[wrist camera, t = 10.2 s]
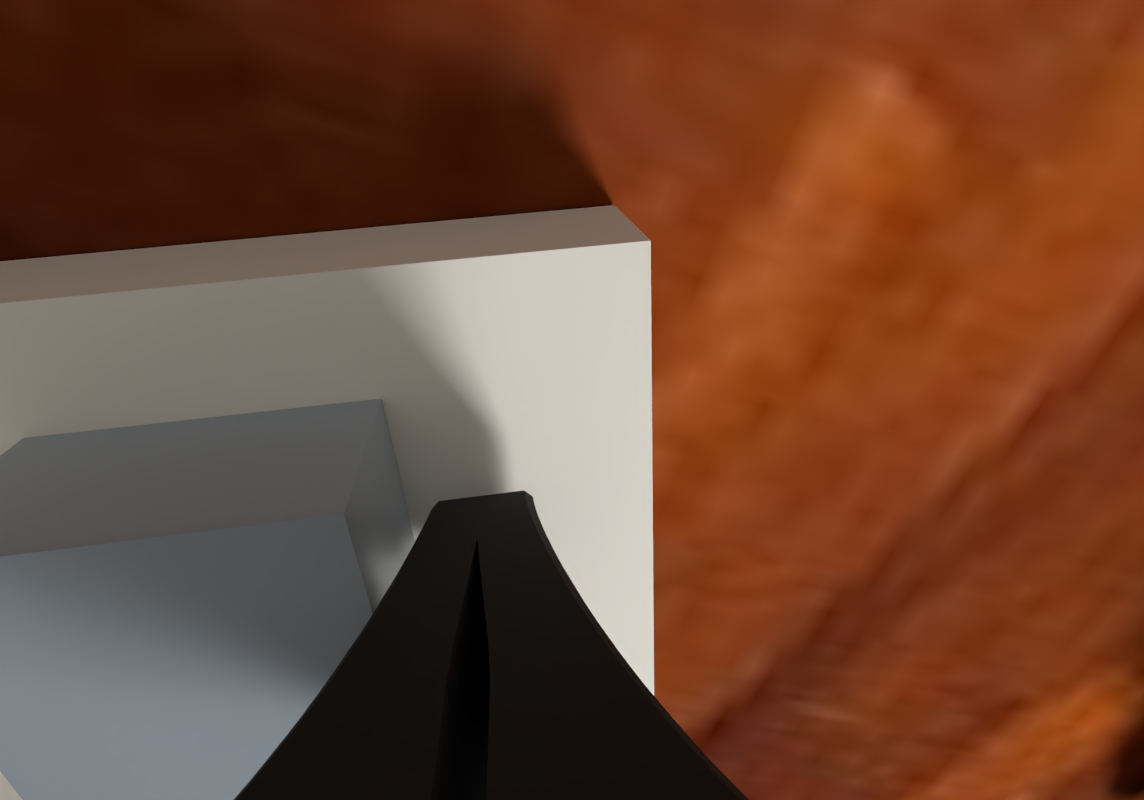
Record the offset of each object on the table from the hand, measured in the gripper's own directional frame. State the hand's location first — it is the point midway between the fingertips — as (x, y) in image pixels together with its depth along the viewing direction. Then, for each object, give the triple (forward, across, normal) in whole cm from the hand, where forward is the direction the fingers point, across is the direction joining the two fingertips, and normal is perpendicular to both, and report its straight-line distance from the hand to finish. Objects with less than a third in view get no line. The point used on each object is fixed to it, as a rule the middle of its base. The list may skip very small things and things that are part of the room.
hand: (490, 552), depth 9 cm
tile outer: (+1, +3, 0) cm, 3 cm away
